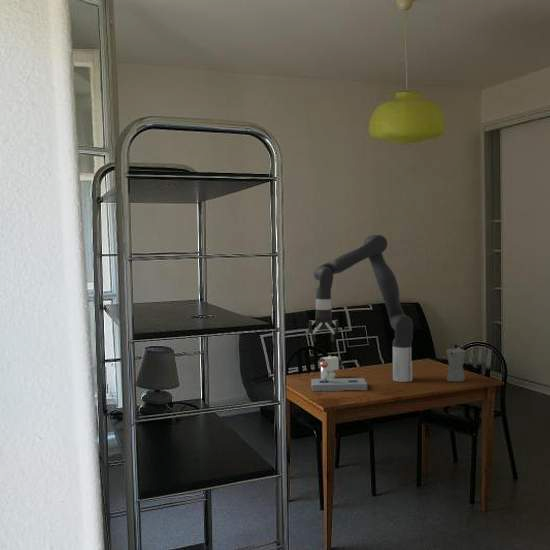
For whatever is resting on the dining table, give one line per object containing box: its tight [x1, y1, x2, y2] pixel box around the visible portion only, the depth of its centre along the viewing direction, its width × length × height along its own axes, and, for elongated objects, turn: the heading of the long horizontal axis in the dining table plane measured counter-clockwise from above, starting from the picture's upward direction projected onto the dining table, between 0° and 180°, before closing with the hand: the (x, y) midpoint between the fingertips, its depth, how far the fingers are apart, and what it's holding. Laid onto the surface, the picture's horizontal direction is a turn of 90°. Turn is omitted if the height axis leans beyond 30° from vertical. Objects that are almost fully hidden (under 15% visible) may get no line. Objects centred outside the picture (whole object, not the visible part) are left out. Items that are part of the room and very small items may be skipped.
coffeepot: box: [446, 344, 466, 382], centre depth 312 cm, size 15×9×18 cm, turn 147°
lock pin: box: [320, 362, 328, 383], centre depth 302 cm, size 4×4×12 cm
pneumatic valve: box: [317, 355, 343, 379], centre depth 320 cm, size 6×12×12 cm, turn 108°
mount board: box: [310, 377, 368, 392], centre depth 302 cm, size 26×12×3 cm, turn 89°
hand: (323, 341), depth 300 cm, fingers open, 8 cm apart
